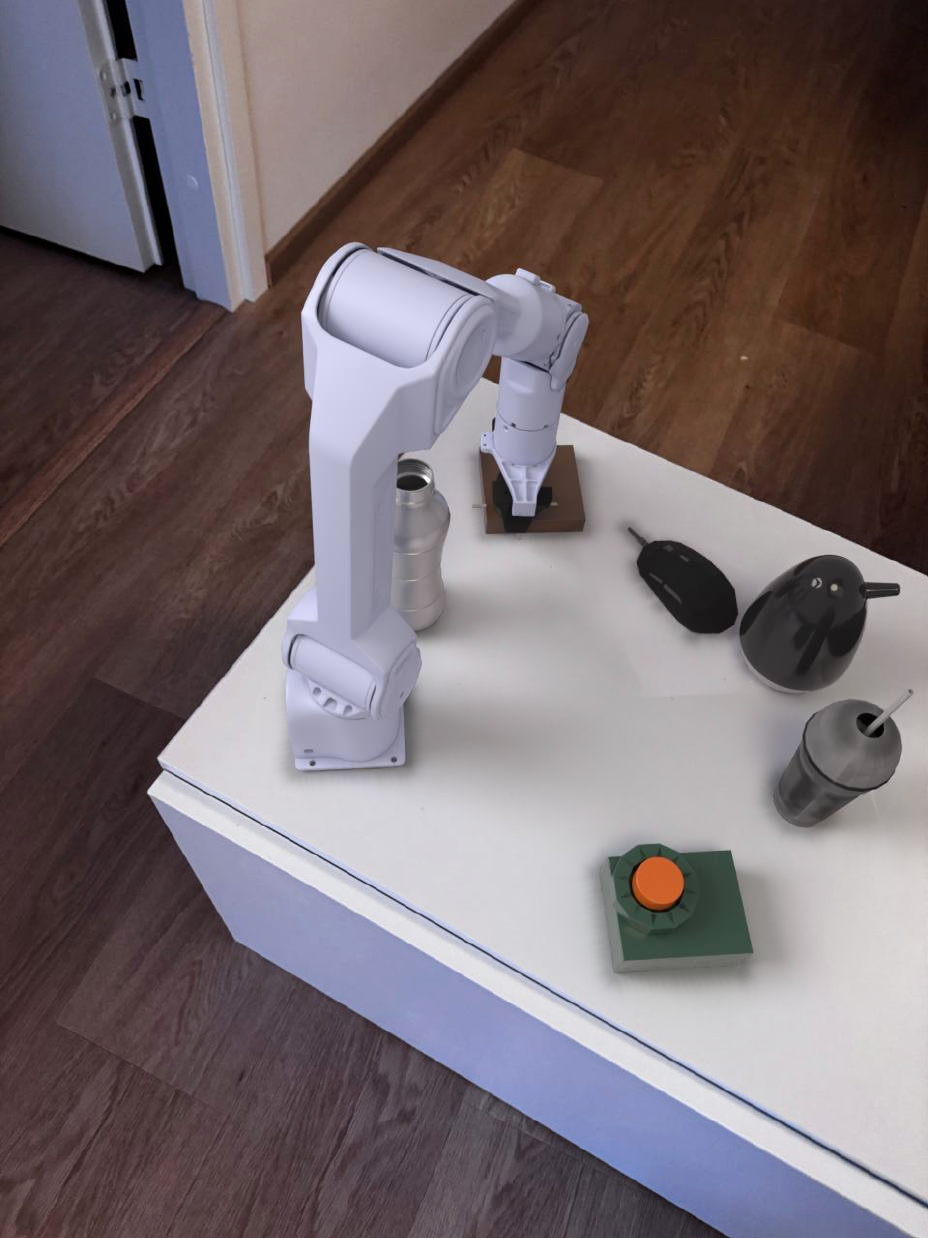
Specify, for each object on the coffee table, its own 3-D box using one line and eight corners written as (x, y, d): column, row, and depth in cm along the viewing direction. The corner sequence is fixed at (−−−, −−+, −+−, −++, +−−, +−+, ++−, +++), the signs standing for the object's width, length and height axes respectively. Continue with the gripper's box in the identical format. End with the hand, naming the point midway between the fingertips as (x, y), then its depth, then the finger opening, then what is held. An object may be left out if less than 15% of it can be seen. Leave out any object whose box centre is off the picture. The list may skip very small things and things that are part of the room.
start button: (635, 911, 73) (640, 905, 72) (628, 865, 75) (632, 857, 74) (682, 909, 73) (688, 902, 72) (674, 862, 75) (679, 855, 74)
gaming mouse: (652, 516, 100) (660, 491, 97) (748, 619, 94) (761, 597, 91) (604, 542, 98) (611, 518, 95) (699, 649, 92) (710, 627, 89)
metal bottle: (367, 592, 94) (357, 453, 77) (434, 577, 95) (439, 436, 78) (384, 647, 91) (378, 515, 74) (453, 631, 92) (463, 497, 75)
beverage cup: (742, 778, 85) (824, 668, 68) (813, 753, 87) (910, 638, 70) (784, 854, 82) (882, 758, 65) (857, 826, 83) (971, 725, 66)
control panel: (474, 552, 97) (475, 540, 95) (465, 459, 103) (466, 445, 102) (586, 549, 98) (589, 536, 96) (570, 457, 104) (573, 443, 102)
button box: (610, 973, 76) (624, 955, 71) (595, 870, 80) (608, 846, 75) (738, 965, 77) (761, 947, 72) (716, 863, 81) (736, 839, 76)
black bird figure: (838, 719, 89) (910, 633, 76) (724, 697, 90) (777, 608, 77) (837, 627, 94) (904, 532, 81) (730, 606, 95) (780, 509, 82)
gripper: (484, 348, 90) (476, 448, 101) (483, 468, 82) (474, 561, 94) (560, 352, 90) (543, 451, 102) (566, 471, 82) (547, 564, 94)
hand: (515, 504), depth 98 cm, fingers open, 6 cm apart
